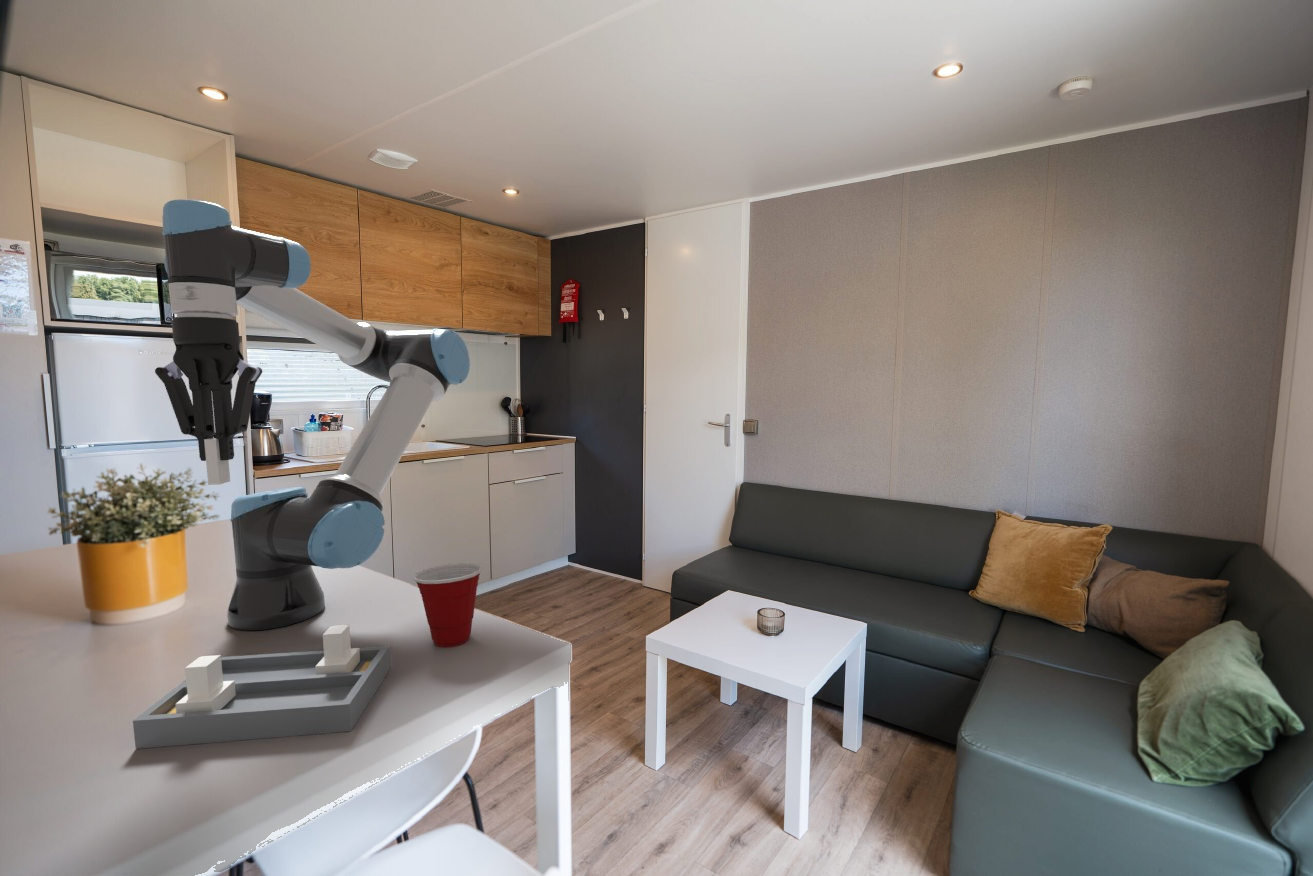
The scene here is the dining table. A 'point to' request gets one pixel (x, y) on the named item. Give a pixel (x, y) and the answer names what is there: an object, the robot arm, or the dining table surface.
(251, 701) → the grey divided tray
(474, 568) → the plastic cup
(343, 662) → the tab
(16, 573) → the dining table surface
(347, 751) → the dining table surface
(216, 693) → the tab
